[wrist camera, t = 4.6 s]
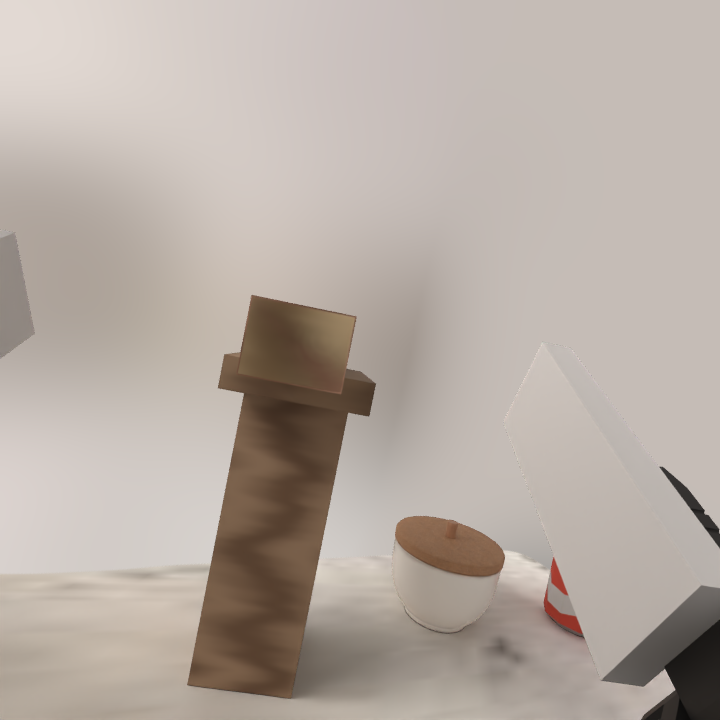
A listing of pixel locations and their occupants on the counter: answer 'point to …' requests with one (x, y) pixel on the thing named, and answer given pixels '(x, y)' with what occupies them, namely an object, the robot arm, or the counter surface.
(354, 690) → the counter surface
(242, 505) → the walnut stand
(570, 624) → the beverage can
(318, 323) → the tan wooden bar
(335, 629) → the counter surface
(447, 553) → the lidded jar
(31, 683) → the counter surface
